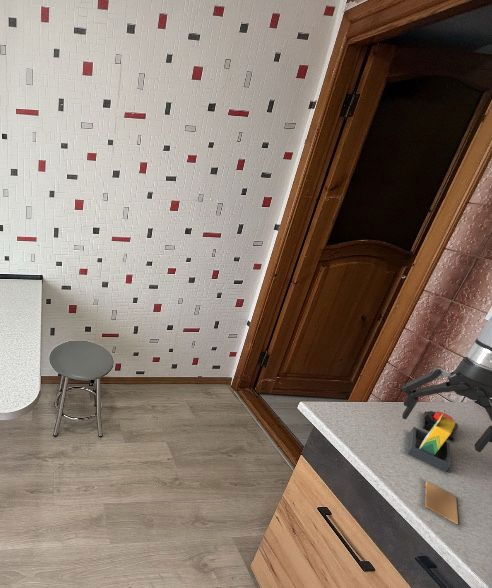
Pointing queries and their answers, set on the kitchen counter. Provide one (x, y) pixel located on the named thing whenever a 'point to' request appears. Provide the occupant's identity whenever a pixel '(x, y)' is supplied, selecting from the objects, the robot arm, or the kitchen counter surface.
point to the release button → (438, 414)
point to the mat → (441, 502)
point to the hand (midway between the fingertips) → (438, 431)
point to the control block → (430, 422)
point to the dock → (426, 457)
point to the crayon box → (437, 435)
